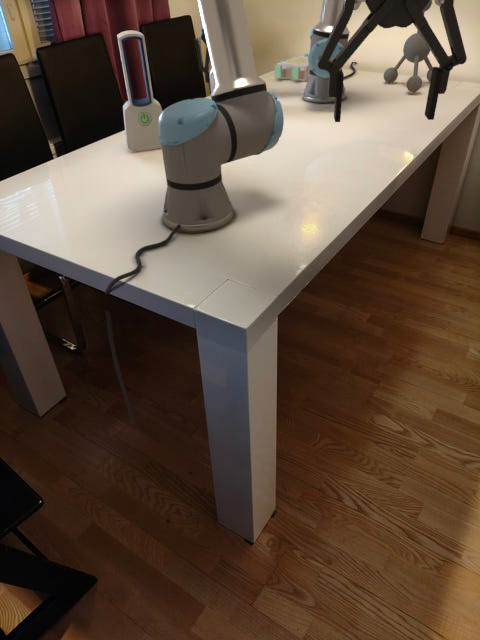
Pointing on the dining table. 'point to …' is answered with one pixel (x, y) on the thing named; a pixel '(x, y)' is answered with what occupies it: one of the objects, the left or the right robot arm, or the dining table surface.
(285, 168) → the dining table surface
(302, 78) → the plastic storage case
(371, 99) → the dining table surface
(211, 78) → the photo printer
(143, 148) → the electronic device
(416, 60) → the molecular model
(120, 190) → the dining table surface
